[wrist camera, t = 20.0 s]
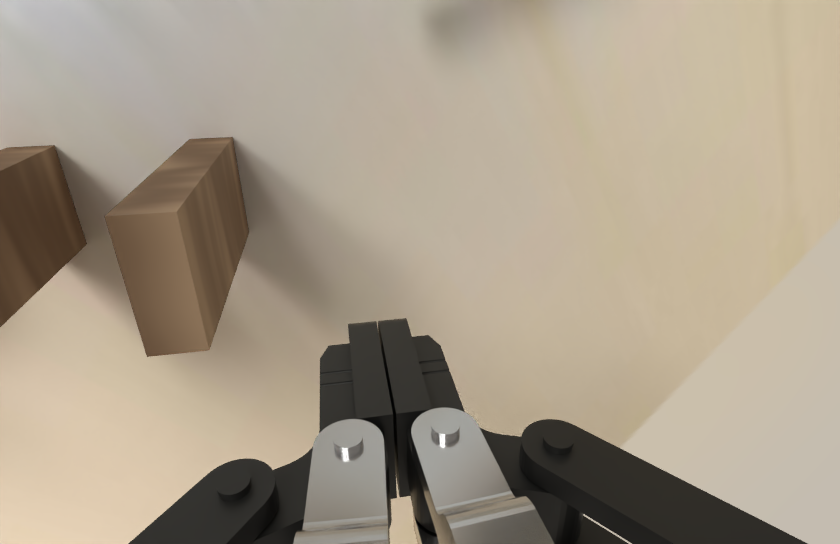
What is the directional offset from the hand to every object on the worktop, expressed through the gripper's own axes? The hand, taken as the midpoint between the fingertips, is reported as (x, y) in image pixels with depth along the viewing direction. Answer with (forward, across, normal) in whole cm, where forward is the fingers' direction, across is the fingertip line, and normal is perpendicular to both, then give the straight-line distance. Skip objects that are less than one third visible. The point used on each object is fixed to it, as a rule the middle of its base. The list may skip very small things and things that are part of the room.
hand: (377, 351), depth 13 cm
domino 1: (+16, +6, 0) cm, 17 cm away
